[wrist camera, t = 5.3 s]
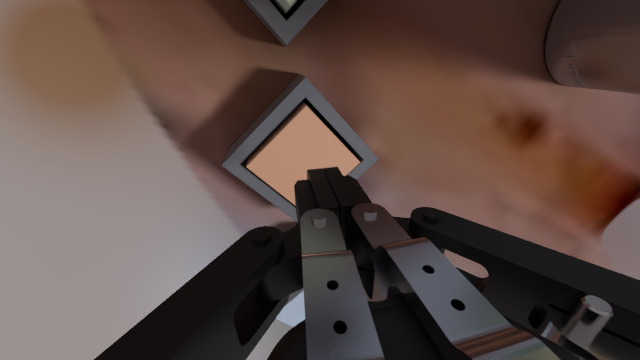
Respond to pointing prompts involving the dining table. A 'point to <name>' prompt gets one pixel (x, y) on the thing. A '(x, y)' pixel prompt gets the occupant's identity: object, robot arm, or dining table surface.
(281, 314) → the dusty blue button
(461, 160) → the dining table surface
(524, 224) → the dining table surface
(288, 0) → the sage green button
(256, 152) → the terracotta button
